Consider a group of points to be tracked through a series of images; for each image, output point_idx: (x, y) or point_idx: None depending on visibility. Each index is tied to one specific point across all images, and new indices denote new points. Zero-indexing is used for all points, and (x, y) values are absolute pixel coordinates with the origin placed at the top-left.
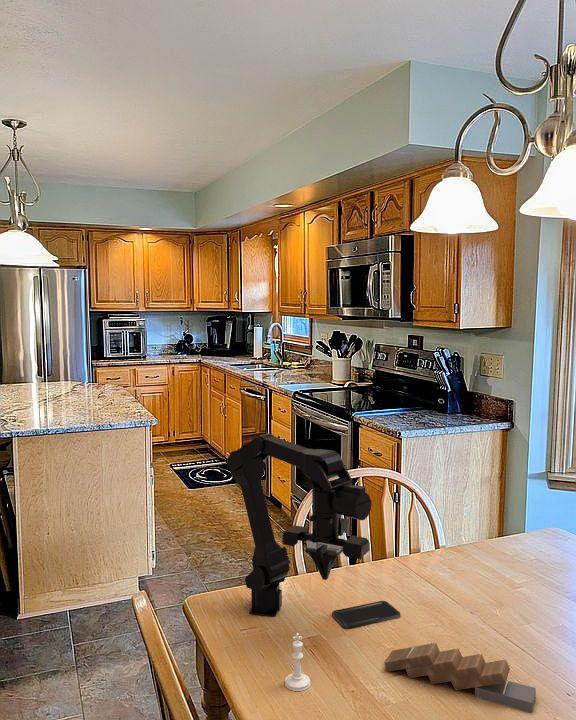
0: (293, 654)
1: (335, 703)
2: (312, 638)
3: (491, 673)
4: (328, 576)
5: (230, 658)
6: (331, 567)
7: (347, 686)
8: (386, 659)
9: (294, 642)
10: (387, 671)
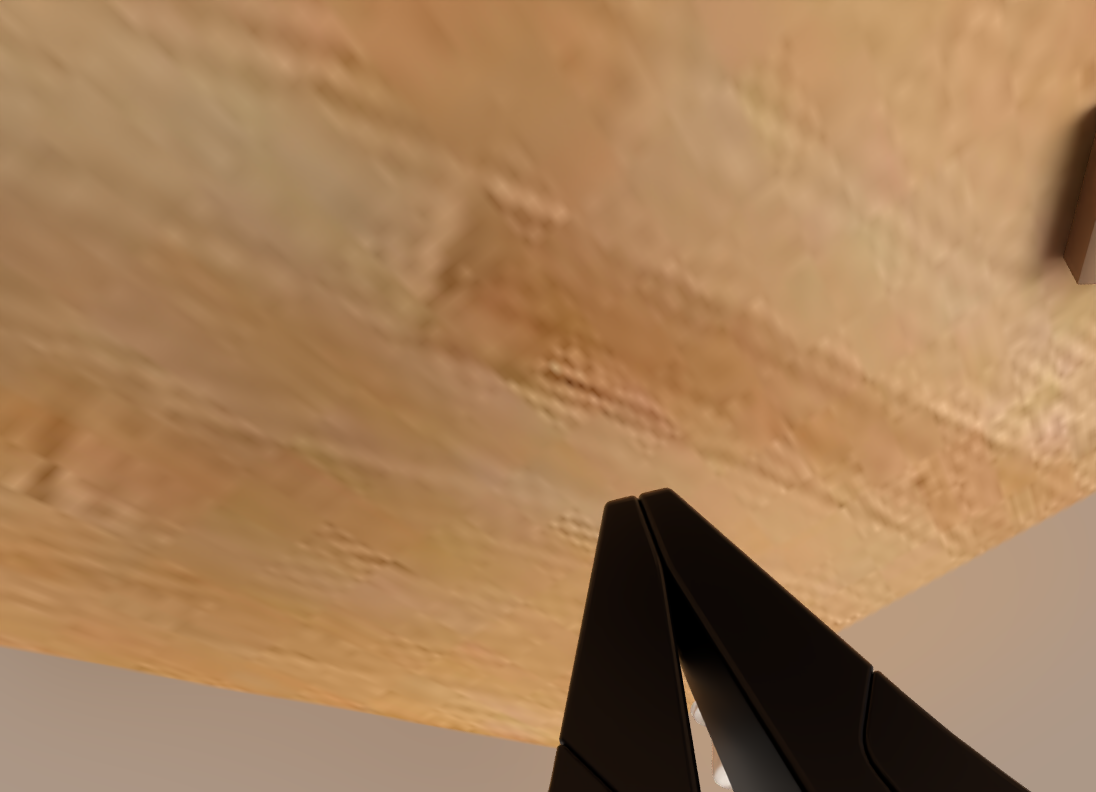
0: (702, 722)
1: (876, 569)
2: (476, 271)
3: None
4: (688, 506)
5: (294, 655)
6: (813, 625)
7: (887, 475)
8: (1091, 245)
9: (728, 784)
10: (1063, 256)
